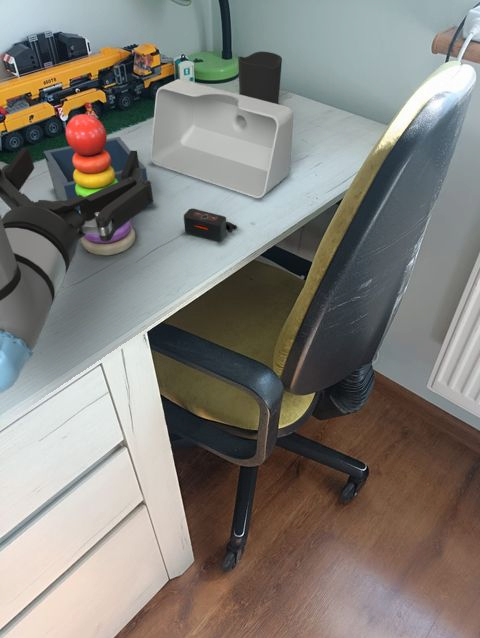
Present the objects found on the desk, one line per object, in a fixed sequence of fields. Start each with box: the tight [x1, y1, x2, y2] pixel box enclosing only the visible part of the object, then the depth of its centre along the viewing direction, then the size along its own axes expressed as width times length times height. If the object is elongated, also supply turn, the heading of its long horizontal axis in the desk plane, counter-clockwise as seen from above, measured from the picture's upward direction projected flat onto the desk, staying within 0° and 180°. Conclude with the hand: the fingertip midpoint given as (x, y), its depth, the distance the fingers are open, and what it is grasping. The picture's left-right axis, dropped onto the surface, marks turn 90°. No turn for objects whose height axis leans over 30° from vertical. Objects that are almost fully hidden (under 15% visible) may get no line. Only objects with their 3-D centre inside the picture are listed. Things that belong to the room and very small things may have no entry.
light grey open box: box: [149, 78, 294, 199], centre depth 93 cm, size 25×16×12 cm, turn 59°
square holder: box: [43, 136, 152, 212], centre depth 85 cm, size 13×13×7 cm
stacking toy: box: [65, 113, 136, 256], centre depth 72 cm, size 8×8×19 cm
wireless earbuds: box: [183, 208, 238, 243], centre depth 80 cm, size 5×7×3 cm, turn 67°
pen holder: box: [237, 50, 283, 104], centre depth 114 cm, size 9×9×10 cm
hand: (82, 159), depth 66 cm, fingers open, 13 cm apart
